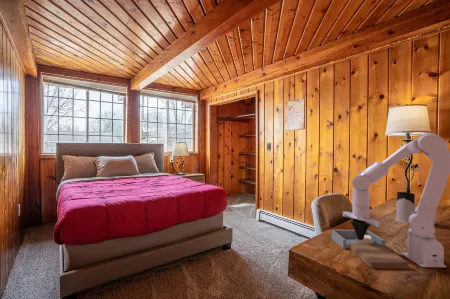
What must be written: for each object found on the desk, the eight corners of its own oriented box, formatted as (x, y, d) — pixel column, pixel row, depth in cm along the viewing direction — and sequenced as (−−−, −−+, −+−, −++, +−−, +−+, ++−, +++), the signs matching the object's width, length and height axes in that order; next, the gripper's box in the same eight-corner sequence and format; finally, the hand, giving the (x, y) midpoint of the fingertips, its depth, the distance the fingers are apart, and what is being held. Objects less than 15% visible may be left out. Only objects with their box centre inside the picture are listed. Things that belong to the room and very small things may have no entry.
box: (384, 249, 88) (384, 240, 88) (343, 248, 89) (343, 239, 89) (367, 238, 99) (367, 229, 99) (330, 237, 100) (330, 229, 100)
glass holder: (393, 220, 124) (393, 193, 123) (399, 215, 133) (400, 189, 133) (414, 224, 117) (414, 195, 117) (419, 219, 126) (419, 192, 126)
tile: (370, 246, 90) (370, 239, 90) (356, 243, 93) (356, 237, 93) (370, 241, 94) (370, 235, 94) (356, 239, 97) (356, 233, 97)
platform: (408, 268, 74) (408, 262, 74) (371, 267, 75) (371, 261, 75) (379, 249, 88) (379, 244, 88) (348, 248, 89) (348, 243, 89)
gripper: (386, 208, 86) (385, 244, 86) (350, 200, 99) (350, 231, 99) (374, 210, 83) (373, 247, 83) (339, 201, 96) (339, 233, 96)
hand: (360, 239), depth 91 cm, fingers closed
